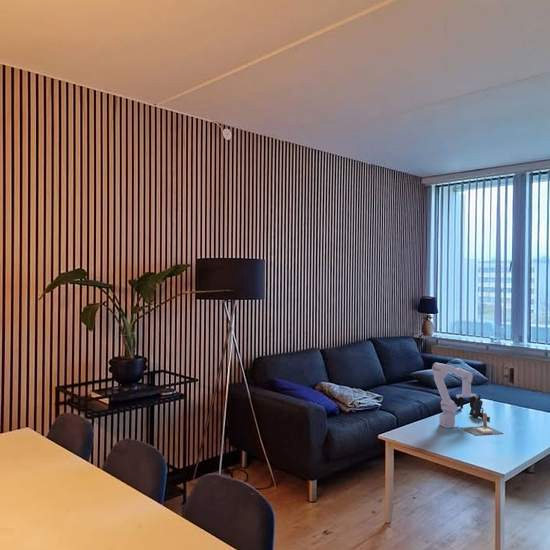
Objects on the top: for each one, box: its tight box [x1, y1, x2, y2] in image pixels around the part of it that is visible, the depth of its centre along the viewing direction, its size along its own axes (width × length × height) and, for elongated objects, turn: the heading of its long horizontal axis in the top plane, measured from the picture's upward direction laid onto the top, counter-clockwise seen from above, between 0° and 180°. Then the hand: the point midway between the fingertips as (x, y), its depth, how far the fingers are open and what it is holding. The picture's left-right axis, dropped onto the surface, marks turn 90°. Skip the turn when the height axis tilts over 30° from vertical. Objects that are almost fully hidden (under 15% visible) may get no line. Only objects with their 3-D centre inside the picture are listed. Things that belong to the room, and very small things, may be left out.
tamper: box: [480, 412, 490, 428], centre depth 325 cm, size 4×4×10 cm
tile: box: [476, 427, 493, 434], centre depth 316 cm, size 7×2×7 cm
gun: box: [468, 394, 491, 422], centre depth 347 cm, size 3×17×15 cm
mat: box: [460, 425, 504, 437], centre depth 319 cm, size 20×16×1 cm
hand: (466, 407), depth 337 cm, fingers open, 7 cm apart
